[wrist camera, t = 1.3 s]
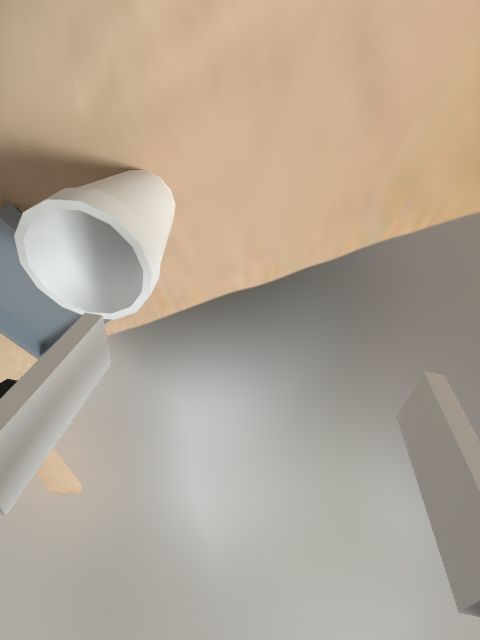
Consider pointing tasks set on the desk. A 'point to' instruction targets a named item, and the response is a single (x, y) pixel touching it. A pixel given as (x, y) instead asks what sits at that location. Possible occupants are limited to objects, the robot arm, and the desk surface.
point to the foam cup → (98, 243)
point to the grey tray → (26, 298)
